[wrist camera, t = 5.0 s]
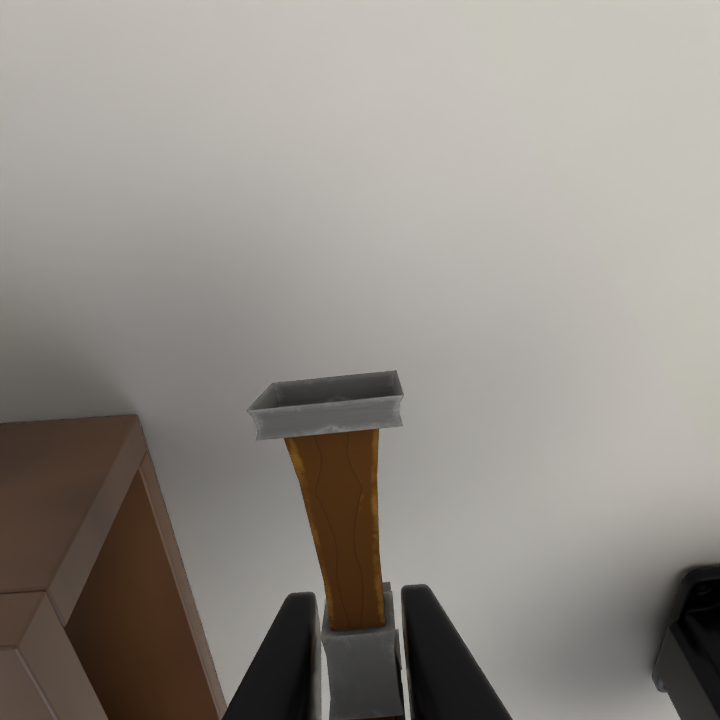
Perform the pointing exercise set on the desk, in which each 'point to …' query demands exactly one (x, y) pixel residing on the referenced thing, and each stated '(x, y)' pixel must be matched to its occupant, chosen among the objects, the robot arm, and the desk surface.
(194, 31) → the desk surface
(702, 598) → the robot arm
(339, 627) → the grey and wood assembly
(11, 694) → the shelf
